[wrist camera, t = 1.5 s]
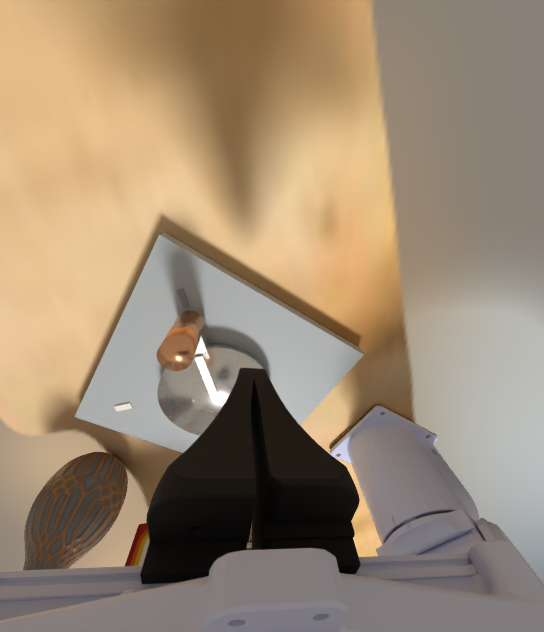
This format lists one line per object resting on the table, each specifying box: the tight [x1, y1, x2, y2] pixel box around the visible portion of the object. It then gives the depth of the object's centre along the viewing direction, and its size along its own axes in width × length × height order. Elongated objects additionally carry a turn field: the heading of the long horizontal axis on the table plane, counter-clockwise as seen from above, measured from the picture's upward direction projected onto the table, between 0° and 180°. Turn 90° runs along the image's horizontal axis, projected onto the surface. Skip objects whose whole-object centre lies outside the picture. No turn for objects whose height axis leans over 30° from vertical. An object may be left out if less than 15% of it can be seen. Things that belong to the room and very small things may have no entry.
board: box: [75, 232, 364, 453], centre depth 22 cm, size 18×18×1 cm
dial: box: [157, 310, 269, 435], centre depth 19 cm, size 12×9×4 cm
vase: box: [23, 452, 128, 571], centre depth 23 cm, size 7×7×9 cm
